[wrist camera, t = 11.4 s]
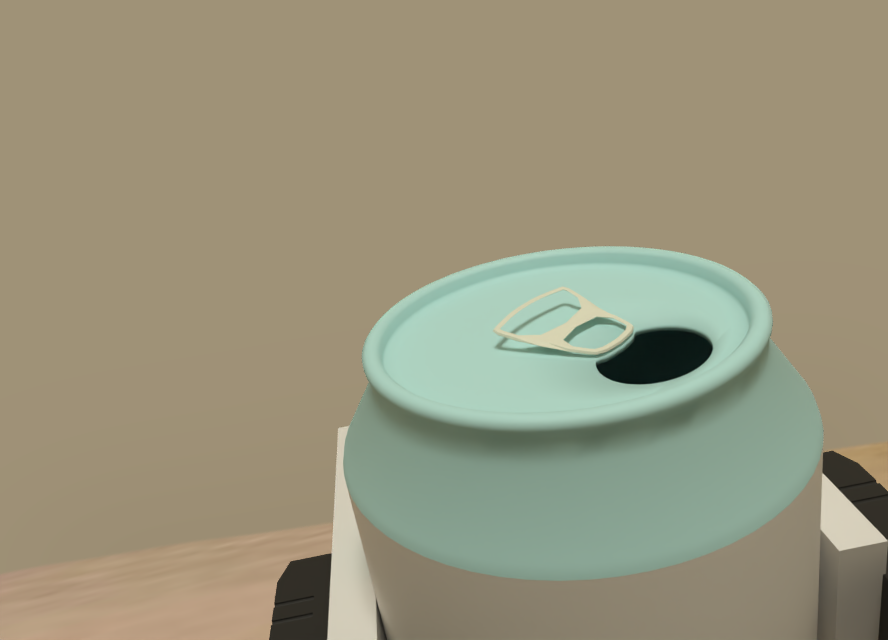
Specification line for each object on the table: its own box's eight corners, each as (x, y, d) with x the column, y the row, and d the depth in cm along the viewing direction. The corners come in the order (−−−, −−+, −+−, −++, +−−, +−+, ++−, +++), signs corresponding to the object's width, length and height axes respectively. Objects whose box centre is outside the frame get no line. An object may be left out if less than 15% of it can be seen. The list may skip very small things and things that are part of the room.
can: (757, 692, 19) (753, 209, 14) (867, 1073, 12) (928, 421, 7) (466, 698, 20) (371, 255, 15) (428, 1045, 13) (243, 471, 9)
